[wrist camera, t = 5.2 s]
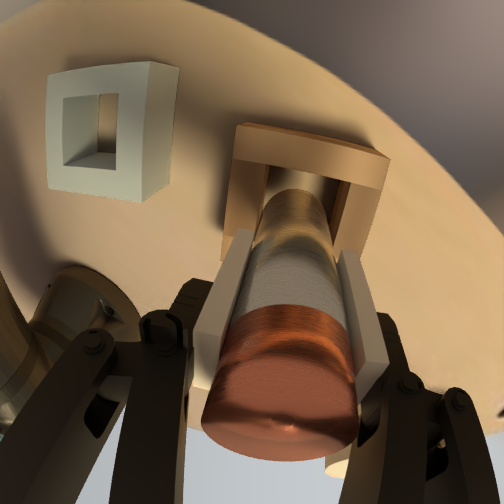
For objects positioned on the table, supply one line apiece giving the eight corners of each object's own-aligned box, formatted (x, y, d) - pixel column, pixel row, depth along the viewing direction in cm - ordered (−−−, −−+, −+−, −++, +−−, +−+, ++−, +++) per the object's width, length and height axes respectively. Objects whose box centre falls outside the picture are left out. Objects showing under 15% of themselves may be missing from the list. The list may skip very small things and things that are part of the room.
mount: (231, 237, 26) (220, 260, 22) (247, 121, 21) (236, 125, 17) (343, 260, 25) (349, 287, 21) (375, 149, 20) (390, 159, 16)
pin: (258, 240, 19) (200, 447, 7) (268, 183, 17) (201, 378, 5) (317, 252, 19) (327, 465, 7) (332, 196, 17) (388, 404, 5)
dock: (81, 172, 25) (48, 188, 20) (84, 73, 20) (47, 75, 15) (169, 183, 24) (141, 203, 20) (179, 67, 19) (150, 61, 15)
